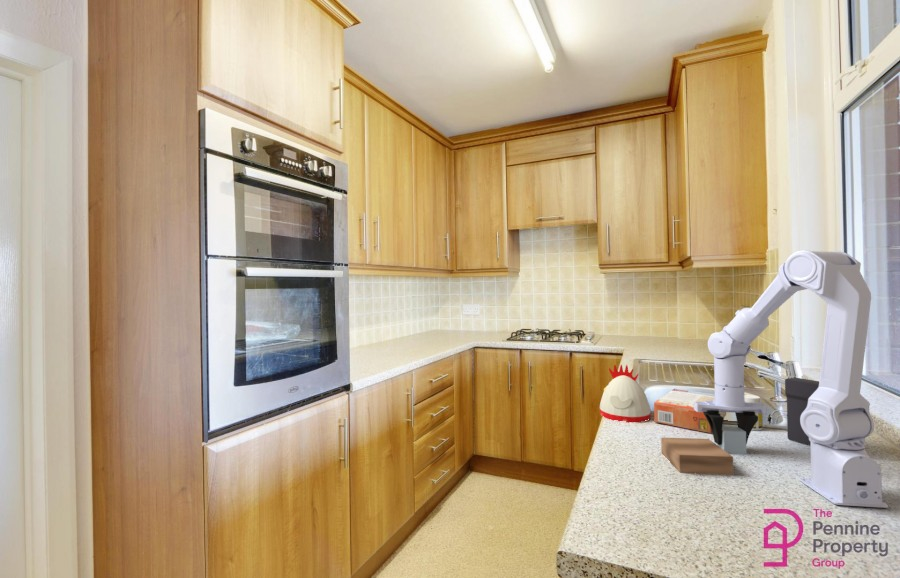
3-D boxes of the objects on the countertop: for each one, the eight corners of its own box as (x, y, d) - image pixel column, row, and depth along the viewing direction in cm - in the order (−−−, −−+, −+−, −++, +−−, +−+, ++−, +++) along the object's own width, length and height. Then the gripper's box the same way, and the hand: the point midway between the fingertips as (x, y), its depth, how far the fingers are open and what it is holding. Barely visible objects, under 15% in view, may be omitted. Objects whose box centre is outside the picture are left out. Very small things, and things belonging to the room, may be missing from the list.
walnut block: (733, 476, 83) (732, 456, 83) (679, 474, 84) (679, 454, 84) (708, 456, 93) (708, 438, 93) (661, 455, 94) (661, 437, 94)
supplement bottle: (755, 425, 112) (754, 394, 112) (767, 431, 108) (766, 398, 108) (736, 424, 113) (736, 394, 113) (747, 430, 108) (746, 398, 108)
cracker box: (711, 435, 106) (727, 415, 121) (711, 412, 106) (727, 394, 121) (653, 423, 115) (674, 406, 131) (652, 401, 115) (674, 387, 131)
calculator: (852, 453, 93) (851, 385, 93) (841, 456, 91) (840, 387, 91) (796, 437, 103) (795, 376, 103) (785, 439, 101) (784, 378, 101)
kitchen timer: (604, 406, 132) (604, 359, 132) (652, 412, 125) (651, 362, 125) (595, 418, 120) (594, 366, 121) (647, 425, 113) (647, 370, 114)
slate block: (746, 454, 93) (745, 431, 93) (724, 453, 94) (724, 431, 94) (735, 446, 97) (735, 425, 97) (715, 445, 98) (714, 424, 98)
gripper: (754, 381, 98) (755, 438, 98) (688, 380, 101) (689, 436, 101) (772, 388, 91) (773, 450, 91) (700, 386, 94) (701, 447, 94)
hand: (730, 443), depth 96 cm, fingers closed on slate block, 4 cm apart
